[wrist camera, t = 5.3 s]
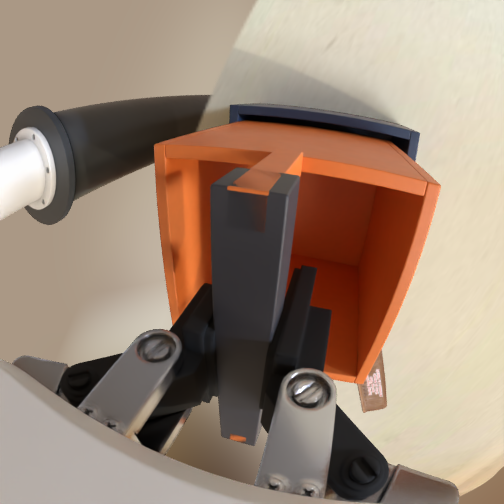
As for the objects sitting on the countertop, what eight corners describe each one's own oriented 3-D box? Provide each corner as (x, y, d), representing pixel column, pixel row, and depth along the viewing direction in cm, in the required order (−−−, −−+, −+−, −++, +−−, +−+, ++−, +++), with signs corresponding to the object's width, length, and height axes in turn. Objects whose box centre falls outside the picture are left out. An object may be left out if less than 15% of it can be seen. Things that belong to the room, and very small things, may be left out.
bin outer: (253, 227, 28) (226, 264, 23) (260, 103, 23) (229, 104, 17) (374, 250, 26) (378, 295, 20) (399, 124, 20) (420, 132, 14)
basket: (239, 247, 23) (134, 402, 11) (245, 117, 18) (61, 172, 6) (362, 271, 21) (354, 464, 9) (391, 138, 16) (504, 243, 4)
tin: (342, 272, 28) (336, 331, 21) (373, 266, 27) (378, 325, 20) (364, 370, 33) (359, 426, 26) (388, 367, 32) (387, 423, 25)
